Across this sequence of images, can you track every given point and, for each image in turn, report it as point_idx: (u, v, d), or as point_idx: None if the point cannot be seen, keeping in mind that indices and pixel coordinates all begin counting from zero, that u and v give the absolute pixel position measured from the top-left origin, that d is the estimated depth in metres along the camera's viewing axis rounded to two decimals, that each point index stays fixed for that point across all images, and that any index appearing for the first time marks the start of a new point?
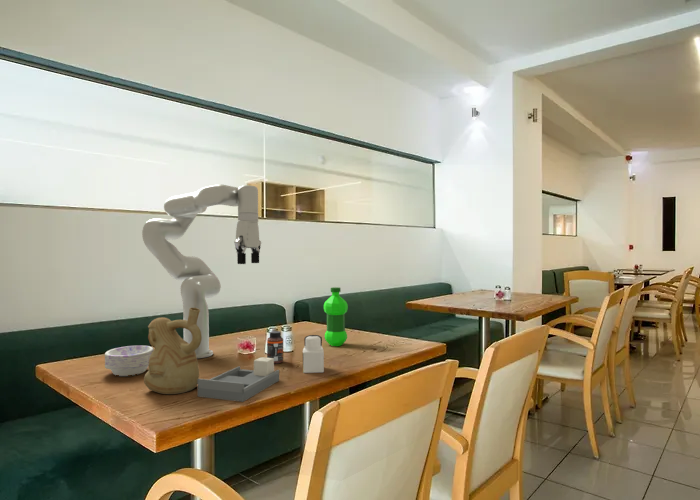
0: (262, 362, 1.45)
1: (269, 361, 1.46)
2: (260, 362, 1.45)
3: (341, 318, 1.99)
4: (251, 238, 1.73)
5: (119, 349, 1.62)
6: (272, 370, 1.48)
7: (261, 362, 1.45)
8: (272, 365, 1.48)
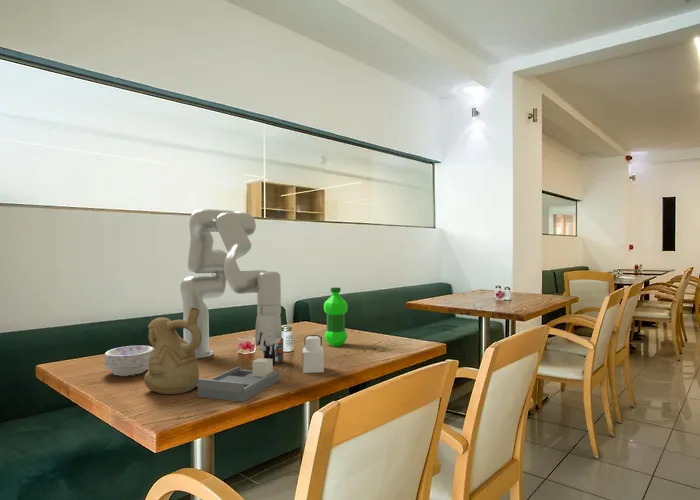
0: (261, 363, 1.44)
1: (268, 362, 1.45)
2: (259, 363, 1.44)
3: (341, 318, 1.99)
4: (273, 334, 1.48)
5: (119, 349, 1.62)
6: (271, 371, 1.47)
7: (260, 363, 1.44)
8: (271, 366, 1.47)
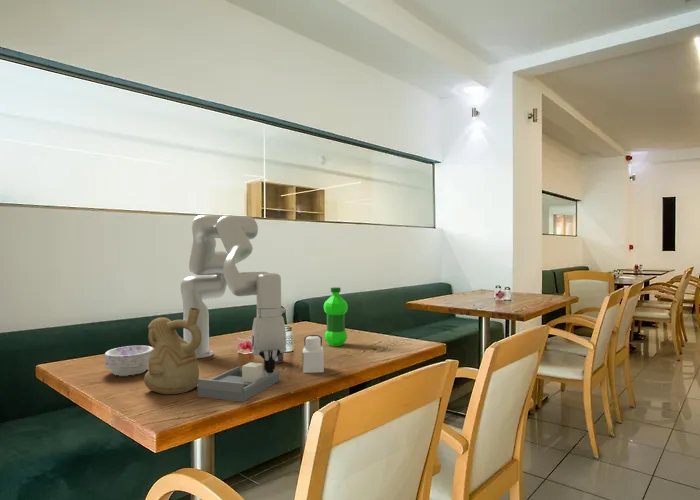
0: (251, 368, 1.38)
1: (258, 367, 1.39)
2: (248, 368, 1.38)
3: (341, 318, 1.99)
4: (266, 339, 1.41)
5: (119, 349, 1.62)
6: (261, 376, 1.41)
7: (250, 368, 1.38)
8: (261, 371, 1.41)
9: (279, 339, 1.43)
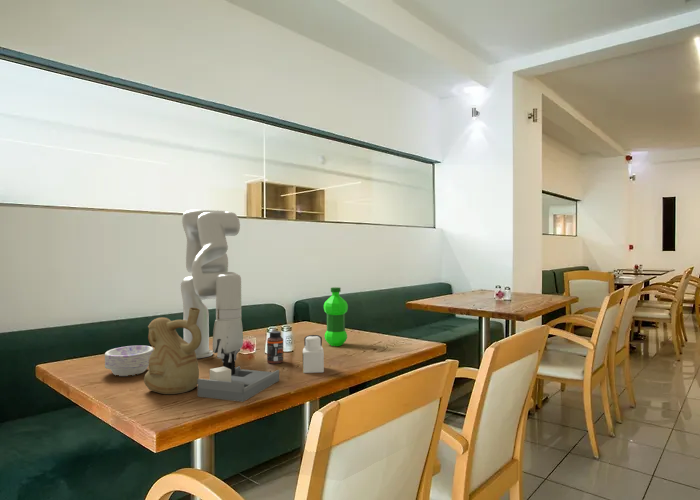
0: (214, 372, 1.33)
1: (222, 372, 1.34)
2: (213, 372, 1.34)
3: (341, 318, 1.99)
4: (232, 341, 1.38)
5: (119, 349, 1.62)
6: None
7: (213, 372, 1.34)
8: (228, 377, 1.35)
9: (240, 339, 1.42)
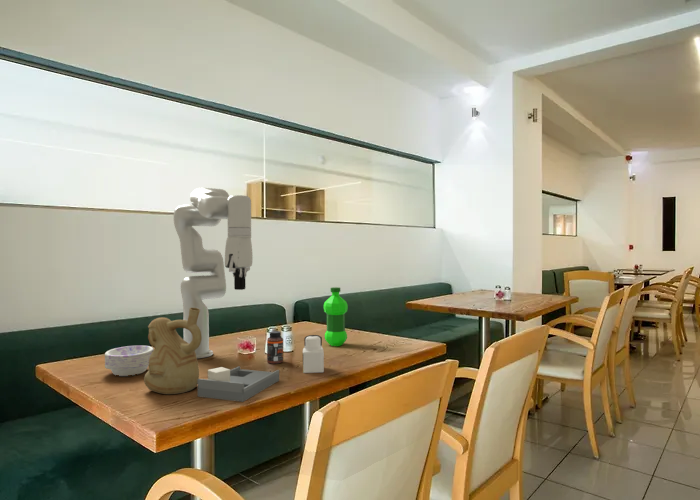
0: (213, 373, 1.33)
1: (221, 372, 1.33)
2: (211, 373, 1.33)
3: (341, 318, 1.99)
4: (243, 256, 1.49)
5: (119, 349, 1.62)
6: None
7: (212, 373, 1.33)
8: (227, 377, 1.34)
9: (249, 257, 1.53)
